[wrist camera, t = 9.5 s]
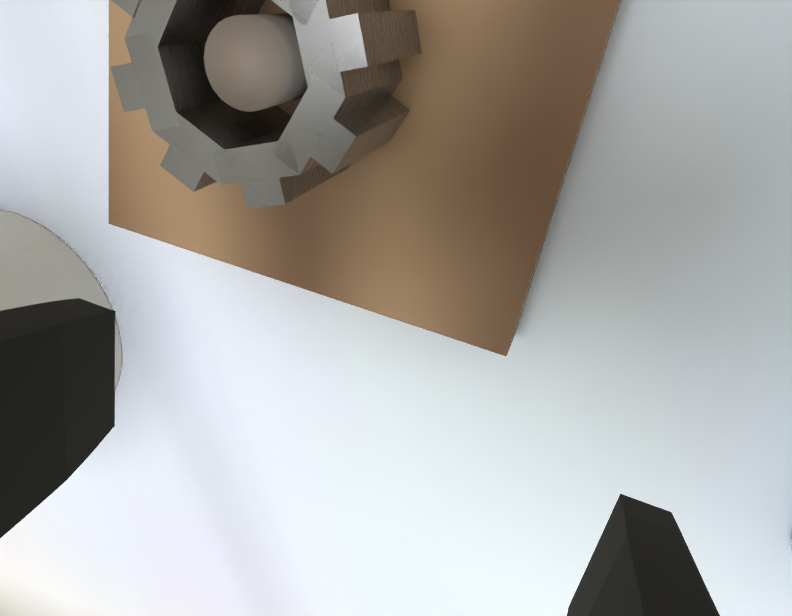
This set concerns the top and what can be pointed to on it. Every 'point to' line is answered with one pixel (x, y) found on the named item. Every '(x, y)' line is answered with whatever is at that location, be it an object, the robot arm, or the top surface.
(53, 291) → the cup
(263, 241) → the gear board
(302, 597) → the top surface
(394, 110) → the gear
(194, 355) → the top surface
